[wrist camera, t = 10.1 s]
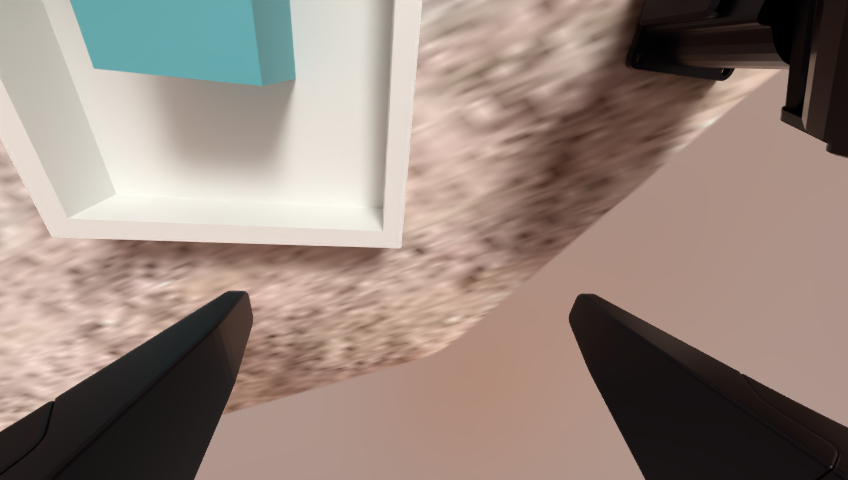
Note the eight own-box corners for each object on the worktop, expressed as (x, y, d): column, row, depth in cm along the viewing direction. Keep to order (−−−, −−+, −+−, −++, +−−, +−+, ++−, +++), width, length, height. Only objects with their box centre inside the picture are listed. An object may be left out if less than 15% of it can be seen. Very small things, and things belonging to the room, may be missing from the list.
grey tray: (436, -314, 11) (463, -489, 7) (397, 216, 20) (401, 248, 17) (-161, -503, 8) (-548, -908, 5) (115, 203, 18) (52, 237, 14)
